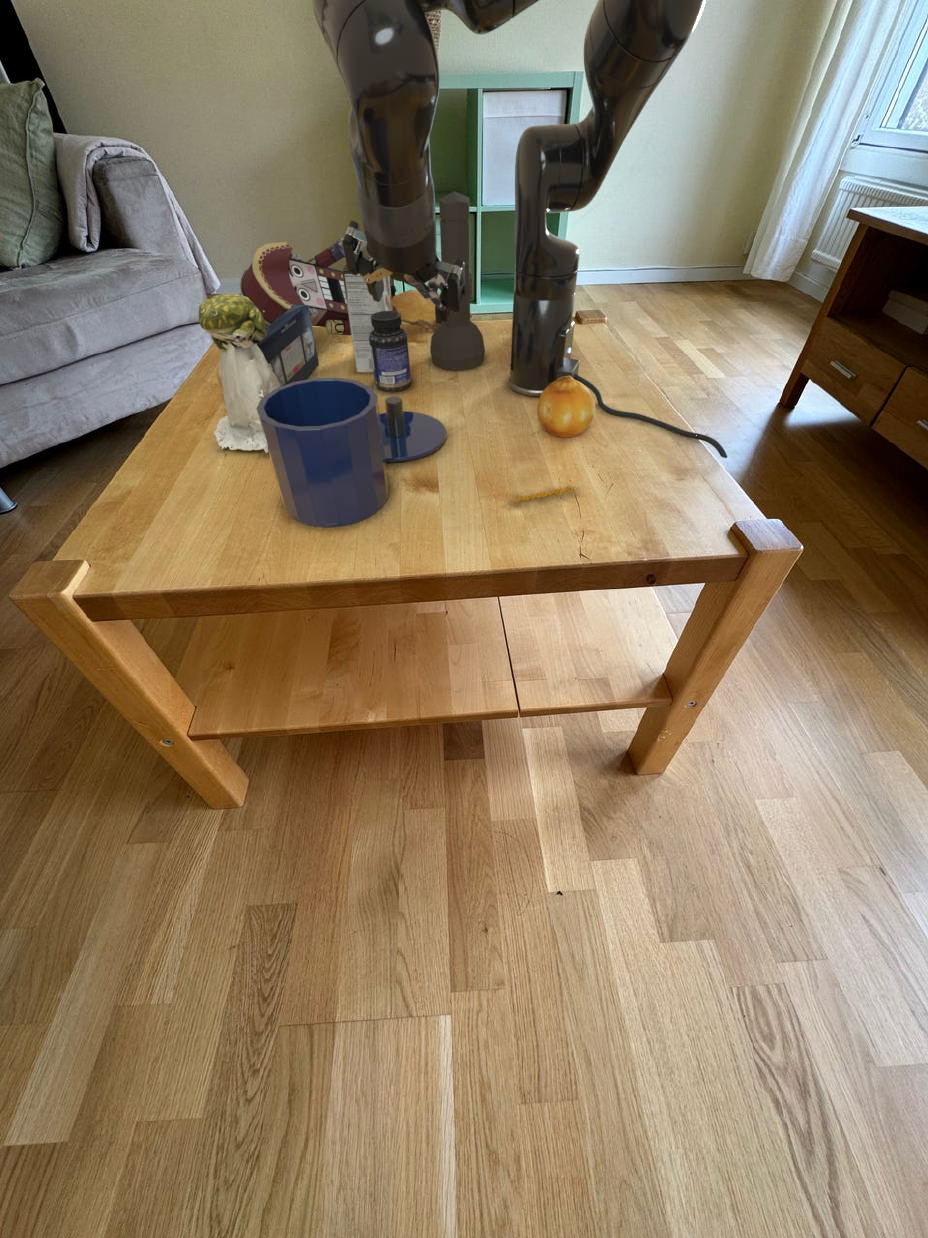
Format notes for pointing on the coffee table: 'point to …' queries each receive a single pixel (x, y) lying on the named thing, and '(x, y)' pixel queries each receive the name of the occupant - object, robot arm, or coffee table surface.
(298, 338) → the vhs cassette tape
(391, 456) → the lid
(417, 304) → the orange wide rounded piece
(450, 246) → the flashlight
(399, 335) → the pill bottle
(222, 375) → the frog
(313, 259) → the toy
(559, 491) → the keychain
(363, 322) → the coffee box
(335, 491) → the tin
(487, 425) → the coffee table surface
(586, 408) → the fruit
